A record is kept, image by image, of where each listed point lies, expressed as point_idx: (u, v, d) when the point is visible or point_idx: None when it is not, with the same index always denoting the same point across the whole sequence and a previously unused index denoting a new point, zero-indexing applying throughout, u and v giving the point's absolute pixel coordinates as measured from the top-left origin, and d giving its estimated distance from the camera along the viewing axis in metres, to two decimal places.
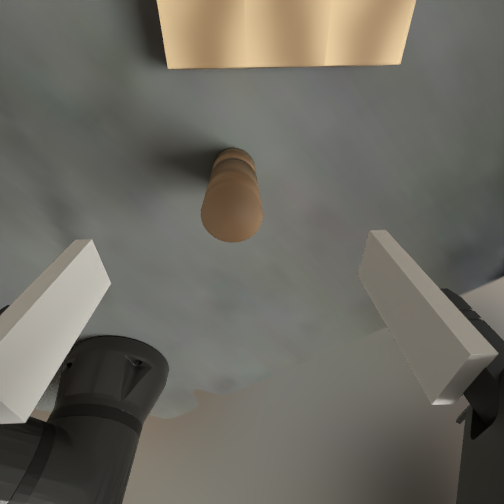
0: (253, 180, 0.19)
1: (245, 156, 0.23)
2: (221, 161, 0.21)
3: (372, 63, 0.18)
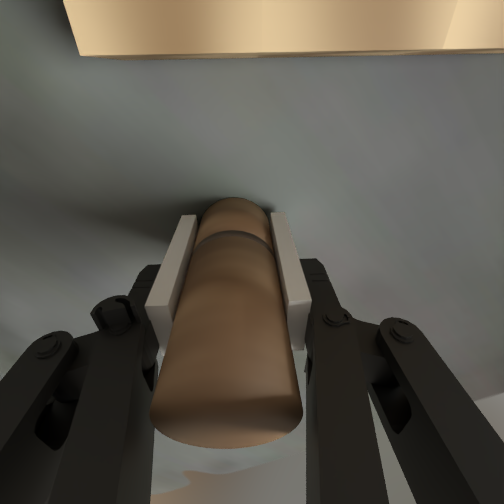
0: (275, 298, 0.09)
1: (255, 217, 0.13)
2: (210, 236, 0.11)
3: None
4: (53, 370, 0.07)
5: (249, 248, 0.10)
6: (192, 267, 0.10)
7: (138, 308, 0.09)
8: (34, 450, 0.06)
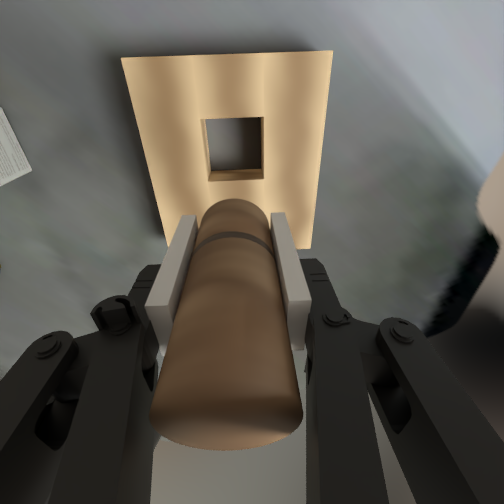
0: (275, 299, 0.09)
1: (255, 218, 0.13)
2: (210, 237, 0.11)
3: None
4: (53, 370, 0.07)
5: (249, 249, 0.10)
6: (192, 268, 0.10)
7: (138, 308, 0.09)
8: (34, 450, 0.06)
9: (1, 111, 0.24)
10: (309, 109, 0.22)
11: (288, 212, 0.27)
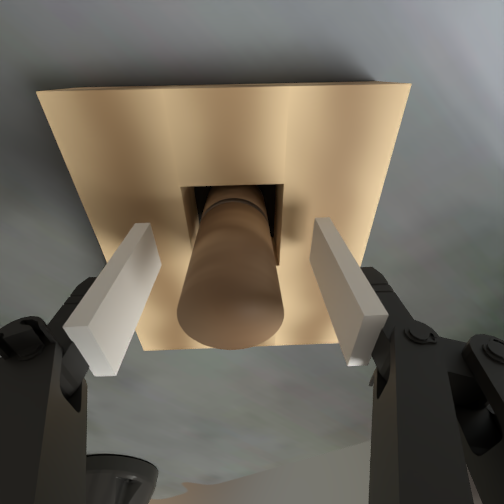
0: (266, 242, 0.12)
1: (252, 191, 0.16)
2: (216, 203, 0.14)
3: (315, 343, 0.21)
4: None
5: (247, 210, 0.13)
6: (202, 224, 0.13)
7: None
8: None
9: None
10: (358, 174, 0.13)
11: (312, 304, 0.19)
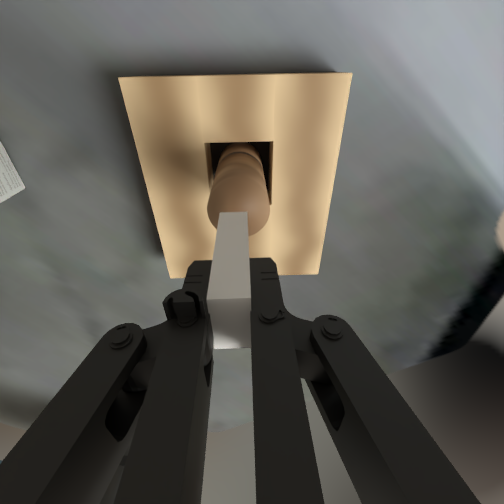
0: (260, 174, 0.18)
1: (252, 150, 0.22)
2: (227, 155, 0.21)
3: (300, 274, 0.28)
4: (125, 364, 0.07)
5: (248, 157, 0.20)
6: (219, 166, 0.20)
7: None
8: (102, 440, 0.06)
9: None
10: (323, 134, 0.20)
11: (296, 238, 0.26)
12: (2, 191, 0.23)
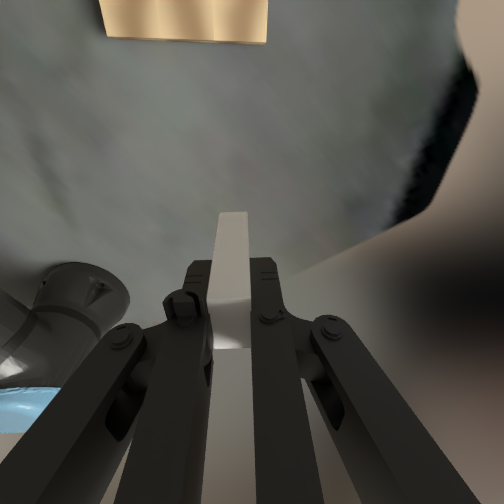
0: None
1: None
2: None
3: (246, 40, 0.27)
4: (125, 363, 0.07)
5: None
6: None
7: None
8: (102, 440, 0.06)
9: None
10: None
11: None
12: None
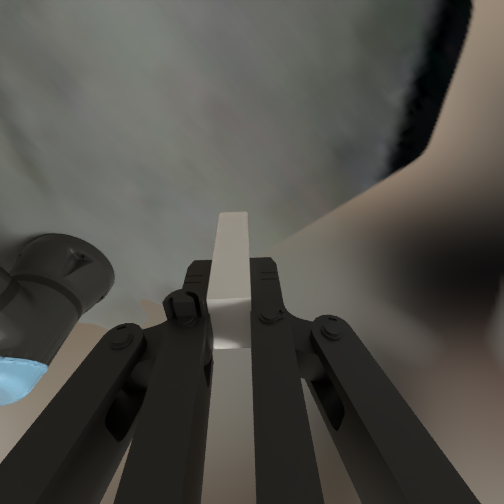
0: None
1: None
2: None
3: None
4: (125, 364, 0.07)
5: None
6: None
7: None
8: (102, 440, 0.06)
9: None
10: None
11: None
12: None
